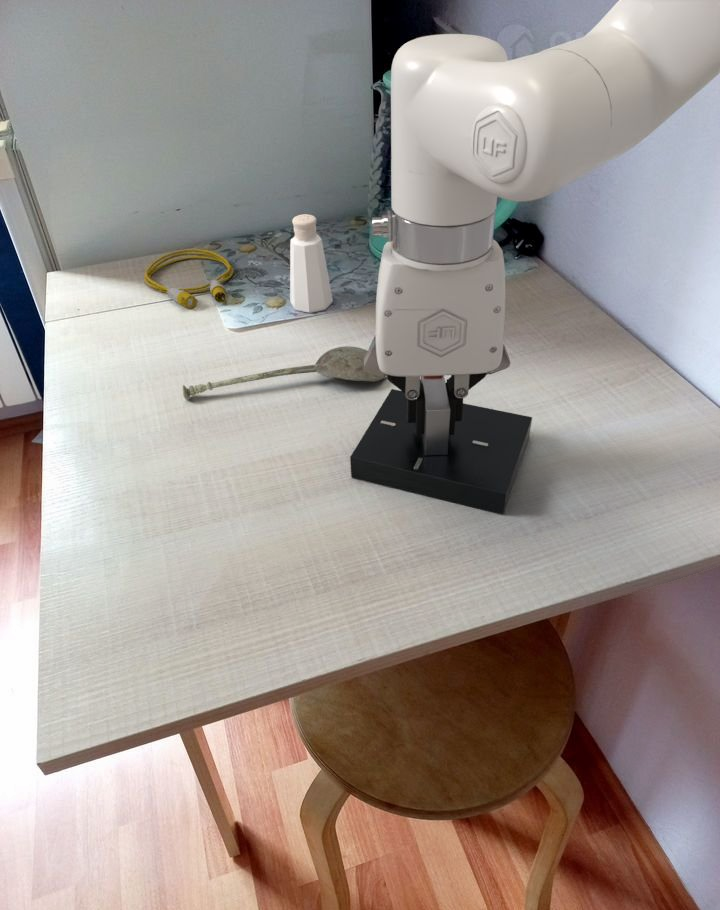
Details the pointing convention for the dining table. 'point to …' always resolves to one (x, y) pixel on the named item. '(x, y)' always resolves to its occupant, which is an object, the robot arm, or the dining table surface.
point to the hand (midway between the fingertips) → (433, 424)
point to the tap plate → (445, 476)
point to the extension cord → (184, 294)
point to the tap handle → (436, 415)
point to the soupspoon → (307, 370)
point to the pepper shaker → (308, 268)
